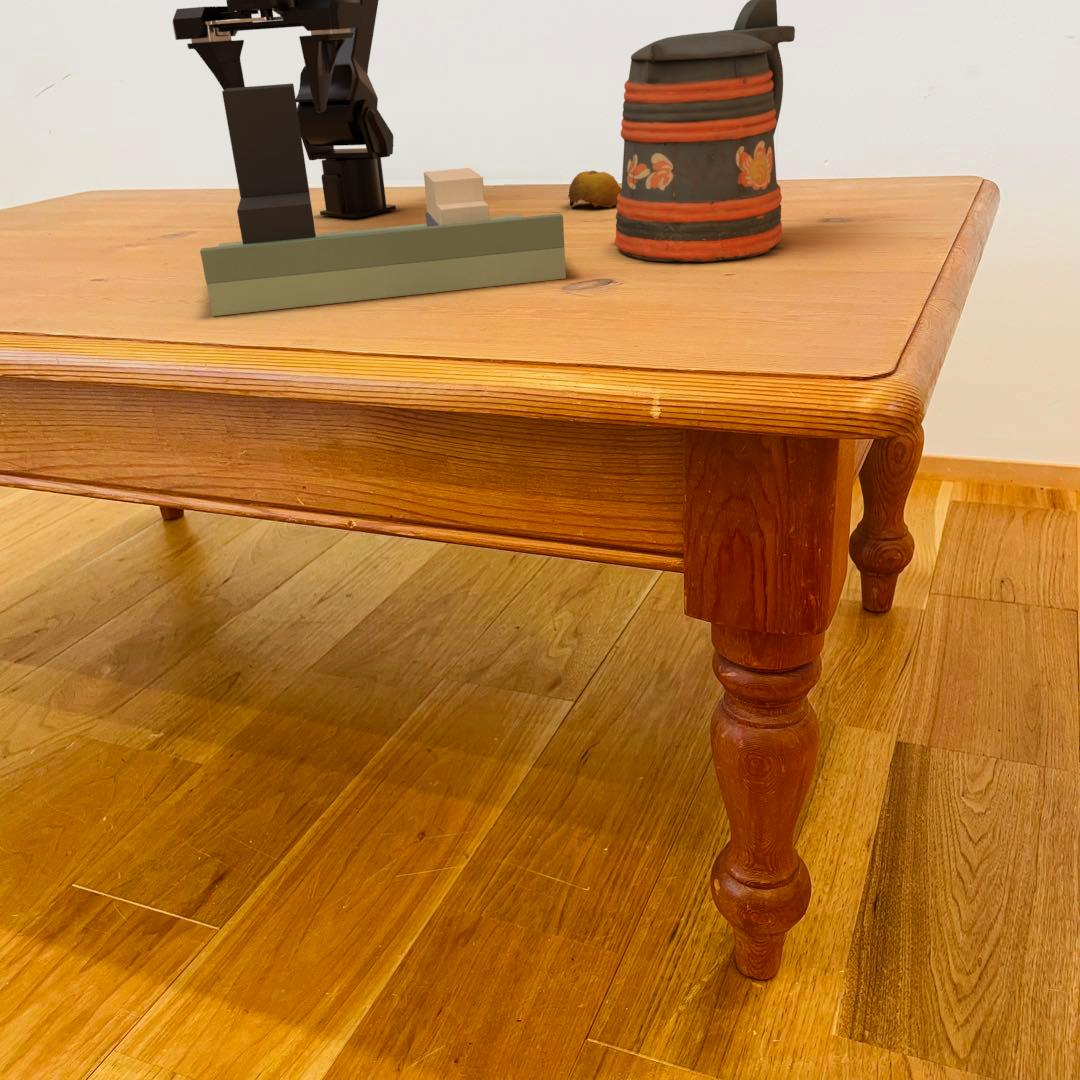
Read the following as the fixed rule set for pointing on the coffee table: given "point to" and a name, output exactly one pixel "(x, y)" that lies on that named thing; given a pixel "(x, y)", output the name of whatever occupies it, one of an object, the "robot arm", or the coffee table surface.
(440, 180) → the stepped wooden block stack
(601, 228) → the coffee table surface
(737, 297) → the coffee table surface
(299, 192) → the dark notched upright block
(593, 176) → the fruit
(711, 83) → the beer stein
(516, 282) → the olive green plank
